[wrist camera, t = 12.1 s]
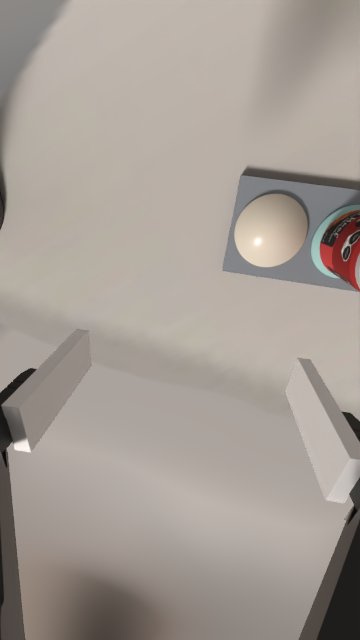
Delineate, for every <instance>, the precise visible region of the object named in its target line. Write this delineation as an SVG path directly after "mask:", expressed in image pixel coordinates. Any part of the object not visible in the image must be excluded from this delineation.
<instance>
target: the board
mask: <svg viewBox="0 0 360 640" xmlns="http://www.w3.org/2000/svg"><path fill="white" fill-rule="evenodd" d="M351 205H360V190H355V189H347V188H339V187H331V186H323V185H315V184H307V183H299V182H292V181H284V180H276V179H268V178H260V177H252V176H244V175H241V177H240V182H239V187H238V192H237V197H236V203H235V208H234V213H233V218H232V223H231V228H230V233H229V238H228V243H227V248H226V253H225V258H224V264H223V271H227V272H233V273H240V274H246V275H253V276H259V277H266V278H272V279H279V280H285V281H292V282H298V283H305V284H311V285H318V286H324V287H331V288H337V289H344V290H350V291H357V292H359V291H358V290H356V289H355V288H353V287H352V286H350V285H349V284H347V283H346V282H345V281H343V280H342V279H340V278H333V277H330V276H327V275H325V274H324V273H322V272H321V271H320V270H318V269H317V267H316V266H315V265H314V263H313V261H312V258H311V254H310V245H311V240H312V237H313V235H314V233H315V231H316V229H317V227H318V226H319V225H320V223H321V222H322V221H323V220H324V219H325V218H326V217H327V216H329V215H330V214H331V213H333V212H335V211H336V210H338V209H341V208H343V207H346V206H351Z"/></svg>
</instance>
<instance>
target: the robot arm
mask: <svg viewBox="0 0 360 640" xmlns="http://www.w3.org/2000/svg"><path fill="white" fill-rule="evenodd" d="M2 220H3V202H2V197H1V193H0V228H1V225H2ZM91 365H92V364H91V353H90V341H89V331H88V330H81V329H76V331H75V332H74V333H73V334H72V335H71V336H70V337H69V338H68V339H67V340H66V341H65V342H64V343H63V344H62V345H61V346H60V347H59V348H58V349H57V350H56V351H55V352H54V353H53V354H52V355H51V356H50V357H49V358H48V359H47V360H46V361H45V362H44V363H43V364H42V365H41V366H40V367H39V368H38V369H33V368H30V369H28V370H27V371H24V372H23V373H21V374H20V375H19V376H17V377H16V378H15V379H14V380H13V382H11V383H10V384H9V385H8V386H7V388H5V389H4V390H3V391H2V392H1V393H0V640H25V634H24V624H23V613H22V603H21V592H20V581H19V570H18V560H17V548H16V538H15V527H14V516H13V505H12V496H11V484H10V473H9V463H8V452H7V449H6V448H7V447H8V446H9V445H10V443H11V442H13V445H14V448H15V450H19V451H26V452H32V450H33V449H34V447H35V446H36V444H37V443H38V442H39V440H40V439H41V437H42V436H43V434H44V433H45V432H46V430H47V429H48V427H49V426H50V424H51V423H52V421H53V420H54V419H55V417H56V416H57V414H58V413H59V411H60V410H61V409H62V407H63V406H64V404H65V403H66V401H67V400H68V399H69V397H70V396H71V394H72V393H73V391H74V390H75V389H76V387H77V386H78V384H79V383H80V381H81V380H82V378H83V377H84V376H85V374H86V373H87V371H88V370H89V368H90V367H91ZM285 393H286V396H287V398H288V401H289V404H290V406H291V409H292V412H293V414H294V417H295V420H296V422H297V425H298V428H299V430H300V433H301V436H302V439H303V441H304V444H305V446H306V449H307V452H308V455H309V457H310V460H311V463H312V465H313V468H314V471H315V473H316V476H317V479H318V482H319V484H320V487H321V490H322V492H323V495H324V498H325V500H327V501H333V502H340V503H344V502H345V501H346V499H347V498H348V496H349V495H350V497H351V499H352V501H353V503H354V506H353V507H352V509H351V510H350V512H349V513H348V515H347V516H346V517H345V520H346V523H345V526H344V528H343V531H342V533H341V536H340V538H339V541H338V543H337V546H336V548H335V551H334V553H333V556H332V558H331V561H330V563H329V566H328V568H327V571H326V573H325V575H324V578H323V580H322V583H321V586H320V588H319V590H318V593H317V596H316V598H315V601H314V603H313V605H312V608H311V610H310V613H309V615H308V618H307V620H306V623H305V625H304V628H303V630H302V633H301V635H300V638H299V640H360V421H359V420H358V419H356V418H355V417H354V416H353V415H352V414H351V413H347V412H341V410H340V408H339V407H338V405H337V403H336V402H335V400H334V398H333V397H332V395H331V393H330V392H329V390H328V388H327V387H326V385H325V383H324V382H323V380H322V378H321V377H320V375H319V373H318V372H317V370H316V368H315V366H314V365H313V363H312V361H311V360H310V359H302V358H297V361H296V364H295V366H294V369H293V372H292V375H291V378H290V381H289V383H288V386H287V389H286V392H285Z"/></svg>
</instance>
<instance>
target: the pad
mask: <svg viewBox="0 0 360 640" xmlns="http://www.w3.org/2000/svg"><path fill="white" fill-rule="evenodd" d="M355 210H360V205H351V206H346V207H343V208H341V209H338V210H336V211H335V212H333V213H331V214H330V215H329V216H327V217H326V218H325V219H324V220H323V221H322V222H321V223H320V225H319V226H318V227H317V229H316V231H315V233H314V235H313V237H312V240H311V245H310V254H311V258H312V261H313V263H314V265H315V266H316V267H317V269H318V270H320V271H321V272H322V273H324V274H325V275H327V276H330V277H333V278H339V277H337V276H336V275H334V274H333V273H331V272H330V271H329V270H327V269H326V267H325V266H324V265H323V263H322V261H321V257H320V242H321V239H322V236H323V234H324V232H325V231H326V229H327V228H328V227H329V225H330V224H331V223H333V222H334V221H335V220H336V219H338V218H339V217H341V216H342V215H344V214H346V213H349V212H351V211H355Z"/></svg>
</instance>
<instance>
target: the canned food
mask: <svg viewBox="0 0 360 640" xmlns="http://www.w3.org/2000/svg"><path fill="white" fill-rule="evenodd" d="M320 257H321V261H322V263H323V265H324V266H325V267H326V269H327V270H329V271H330V272H331V273H333V274H334V275H336V276H337V277H339V278H340V279H342V280H343V281H345V282H346V283H347V284H349V285H350V286H352V287H353V288H355V289H356V290H358V291H359V292H360V210H355V211H351V212H349V213H346V214H344V215H342V216H341V217H339V218H338V219H336V220H335V221H334V222H333V223H331V224H330V225H329V227H328V228H327V229H326V231H325V232H324V234H323V236H322V239H321V242H320Z"/></svg>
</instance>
